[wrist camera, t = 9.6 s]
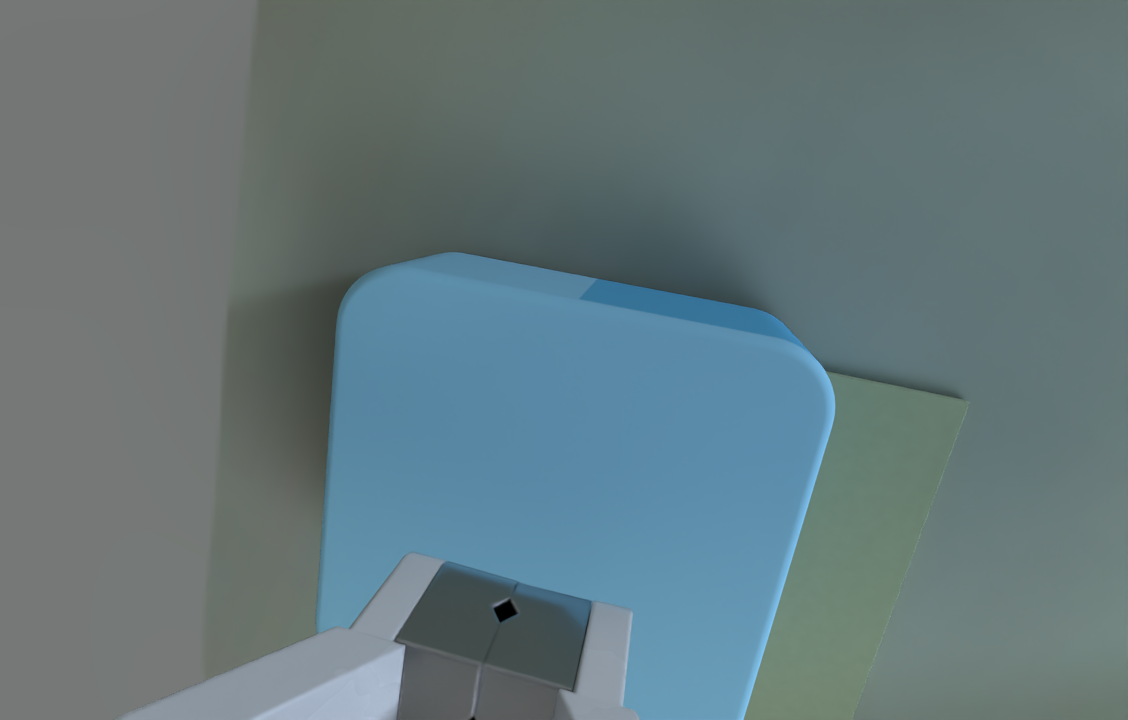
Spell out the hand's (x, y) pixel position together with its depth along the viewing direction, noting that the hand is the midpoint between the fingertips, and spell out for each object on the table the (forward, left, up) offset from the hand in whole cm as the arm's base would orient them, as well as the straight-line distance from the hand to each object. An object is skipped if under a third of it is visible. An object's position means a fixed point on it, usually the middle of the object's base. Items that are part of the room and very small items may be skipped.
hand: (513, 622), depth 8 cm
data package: (+1, -3, -9) cm, 10 cm away
